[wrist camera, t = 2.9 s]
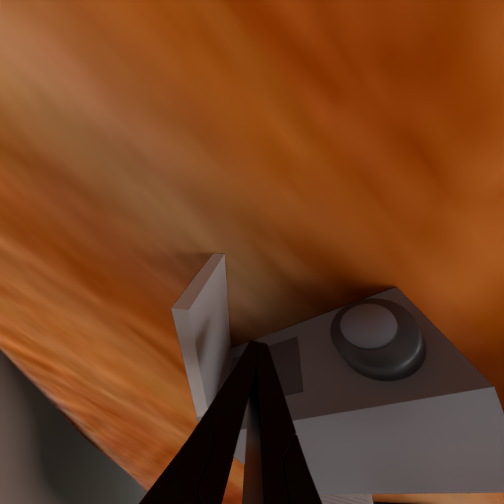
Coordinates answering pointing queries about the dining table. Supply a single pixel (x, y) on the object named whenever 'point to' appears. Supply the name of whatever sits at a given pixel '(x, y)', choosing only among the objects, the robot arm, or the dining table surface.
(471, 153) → the dining table surface
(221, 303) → the side door
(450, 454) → the camera block
